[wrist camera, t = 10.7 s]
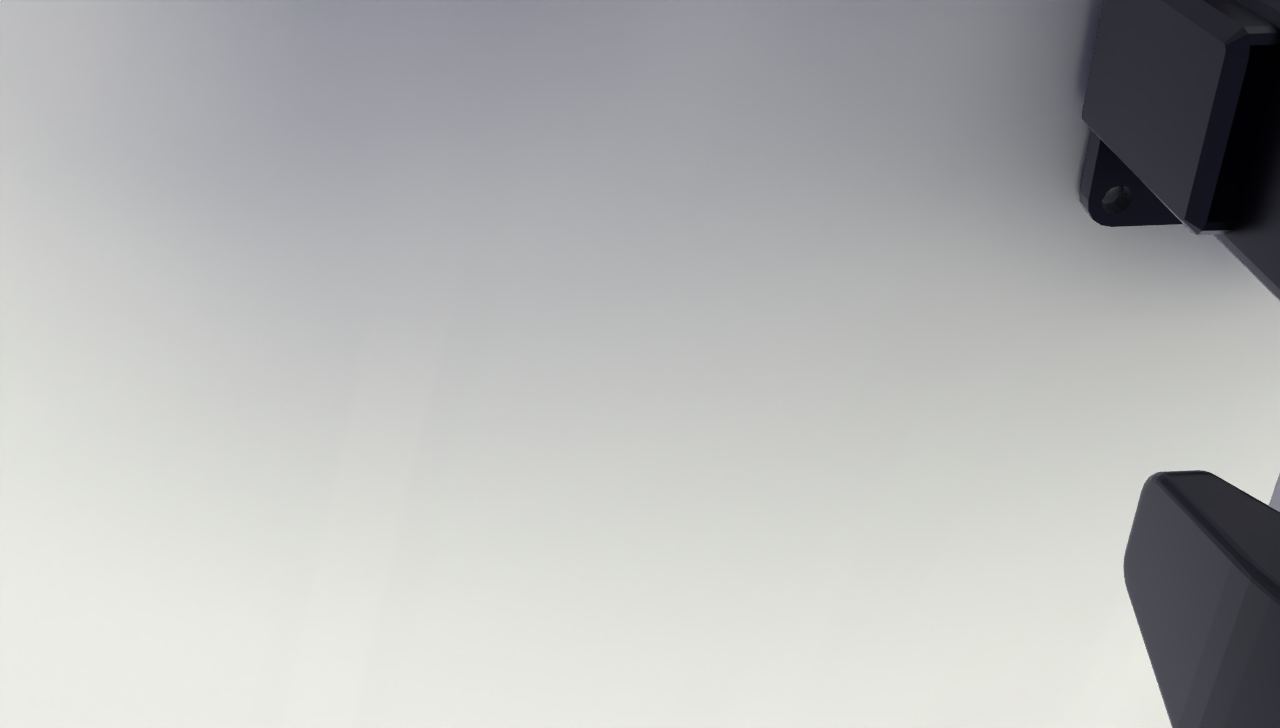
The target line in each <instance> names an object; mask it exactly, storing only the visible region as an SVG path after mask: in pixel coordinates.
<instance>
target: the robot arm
mask: <svg viewBox="0 0 1280 728" xmlns="http://www.w3.org/2000/svg"><path fill="white" fill-rule="evenodd" d="M1082 118H1083V120H1084V122H1085V123H1086V124H1087V125H1088V126H1089V127H1090V128H1091V135H1090V140H1089V145H1088V150H1087V155H1086V161H1085V166H1084V171H1083V176H1082V181H1081V186H1080V202H1081V204H1082V206H1083V208H1084V210H1085V211H1086V212H1087V213H1088V214H1089V216H1090V217H1091V218H1092V219H1093V220H1094V221H1096V222H1097V223H1099V224H1100V225H1104V226H1111V227H1116V226H1143V225H1170V224H1184V225H1185V226H1186V227H1187V228H1188V229H1189V230H1190V231H1191V233H1194V234H1196V235H1206V234H1213V235H1214V236H1215V237H1216V238H1217V239H1218V240H1219V241H1220V242H1221V243H1222V244H1223V245H1224V246H1225V247H1226V248H1227V249H1228V250H1229V251H1230V252H1231V253H1232V254H1233V255H1234V256H1235V257H1236V258H1237V259H1238V260H1239V261H1240V262H1241V263H1242V264H1243V265H1244V266H1245V267H1246V268H1247V269H1248V270H1249V271H1250V272H1251V273H1252V274H1253V275H1254V276H1255V277H1256V278H1257V279H1258V280H1259V281H1260V282H1261V283H1262V284H1263V285H1264V286H1265V287H1266V288H1267V289H1268V290H1269V291H1270V292H1271V293H1272V294H1273V295H1274V296H1275V297H1276V298H1277V299H1278V300H1279V301H1280V0H1103V5H1102V10H1101V16H1100V21H1099V26H1098V32H1097V37H1096V42H1095V47H1094V53H1093V58H1092V63H1091V69H1090V74H1089V79H1088V85H1087V90H1086V95H1085V101H1084V106H1083V111H1082ZM1120 185H1121V186H1123V191H1122V193H1121V195H1120V197H1119V198H1117V199H1116V200H1115V201H1114V202H1110V203H1107V204H1104V203H1102V200H1103V198H1104V196H1105V194H1106V192H1108V191H1109V190H1110V189H1111V188H1113V187H1117V186H1120ZM1124 578H1125V584H1126V587H1127V591H1128V594H1129V597H1130V600H1131V603H1132V606H1133V609H1134V612H1135V615H1136V618H1137V622H1138V625H1139V628H1140V631H1141V634H1142V637H1143V640H1144V643H1145V646H1146V649H1147V652H1148V655H1149V658H1150V661H1151V664H1152V667H1153V670H1154V673H1155V676H1156V680H1157V683H1158V686H1159V689H1160V692H1161V695H1162V698H1163V701H1164V704H1165V707H1166V710H1167V713H1168V716H1169V719H1170V722H1171V725H1172V728H1280V474H1279V477H1278V480H1277V483H1276V486H1275V489H1274V492H1273V495H1272V498H1271V501H1270V503H1269V506H1268V505H1266V504H1264V503H1263V502H1261V501H1259V500H1257V499H1256V498H1254V497H1252V496H1251V495H1249V494H1247V493H1245V492H1244V491H1242V490H1240V489H1238V488H1237V487H1235V486H1233V485H1231V484H1230V483H1228V482H1226V481H1224V480H1223V479H1221V478H1219V477H1218V476H1216V475H1214V474H1212V473H1210V472H1206V471H1200V470H1195V471H1170V472H1158V473H1155V474H1153V475H1151V476H1150V477H1149V478H1148V479H1147V481H1146V482H1145V483H1144V486H1143V489H1142V491H1141V495H1140V499H1139V502H1138V506H1137V510H1136V514H1135V517H1134V521H1133V525H1132V529H1131V532H1130V536H1129V540H1128V544H1127V547H1126V551H1125V556H1124Z"/></svg>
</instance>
